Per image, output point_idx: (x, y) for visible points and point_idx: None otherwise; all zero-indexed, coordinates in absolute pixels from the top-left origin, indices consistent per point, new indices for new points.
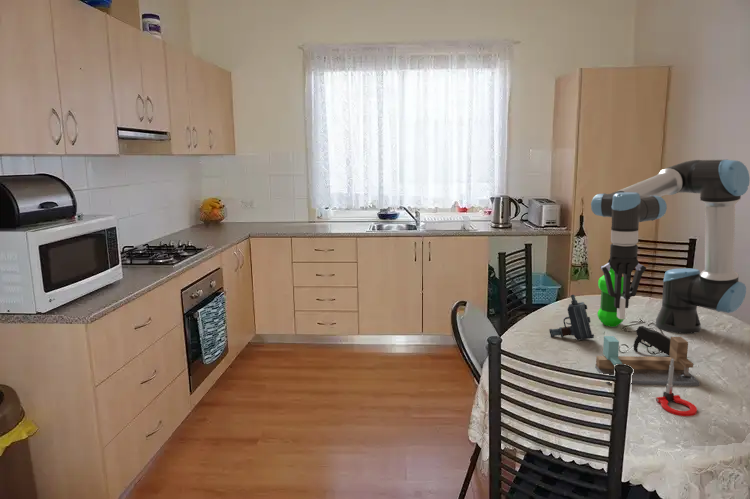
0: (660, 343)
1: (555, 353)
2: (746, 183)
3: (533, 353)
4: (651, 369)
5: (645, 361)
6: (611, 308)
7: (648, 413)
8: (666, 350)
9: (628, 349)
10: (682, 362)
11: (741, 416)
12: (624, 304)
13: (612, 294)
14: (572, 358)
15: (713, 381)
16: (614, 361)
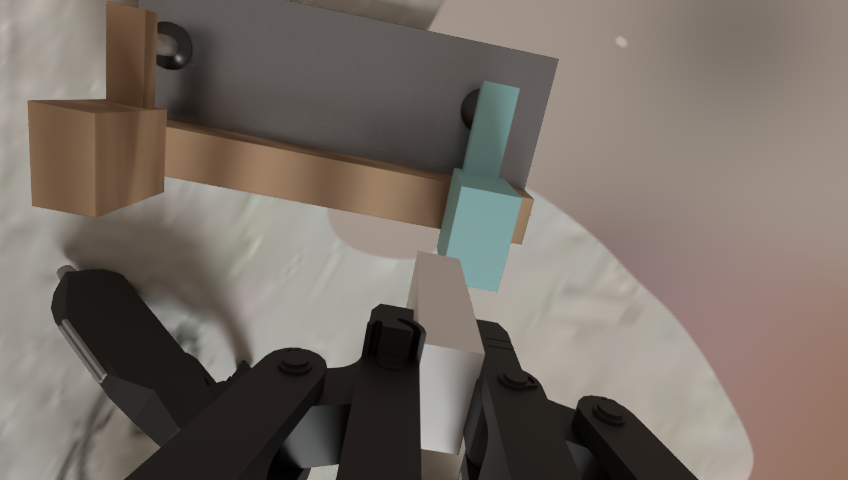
0: (135, 333)
1: (592, 394)
2: None
3: (681, 407)
4: (292, 142)
5: (312, 154)
6: None
7: None
8: (129, 304)
9: None
10: (149, 56)
11: None
12: (428, 310)
13: (619, 415)
14: (550, 337)
15: (60, 10)
16: (514, 105)
